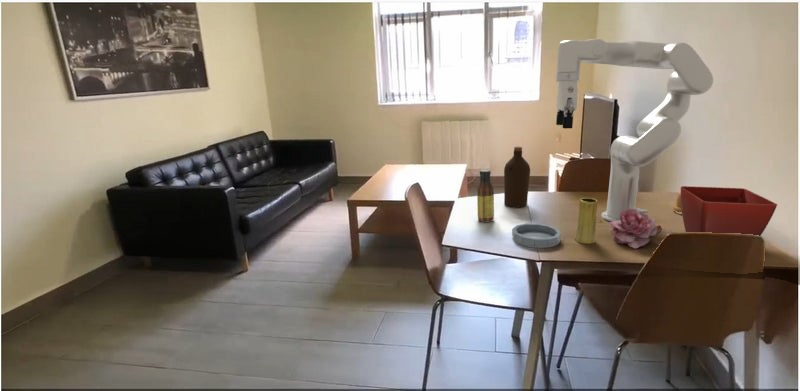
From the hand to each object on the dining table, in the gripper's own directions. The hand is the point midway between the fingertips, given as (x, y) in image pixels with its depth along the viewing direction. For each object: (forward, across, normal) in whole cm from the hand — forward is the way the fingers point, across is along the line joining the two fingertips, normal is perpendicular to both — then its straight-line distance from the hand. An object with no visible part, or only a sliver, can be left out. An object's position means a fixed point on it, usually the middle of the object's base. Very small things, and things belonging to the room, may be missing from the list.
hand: (563, 126), depth 157 cm
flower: (+36, -20, -20) cm, 46 cm away
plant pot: (+36, -23, -45) cm, 62 cm away
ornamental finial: (+36, +10, -51) cm, 63 cm away
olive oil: (+36, +20, +13) cm, 43 cm away
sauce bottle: (+36, -1, +27) cm, 45 cm away
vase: (+36, -21, -4) cm, 42 cm away
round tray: (+36, -20, +12) cm, 43 cm away
